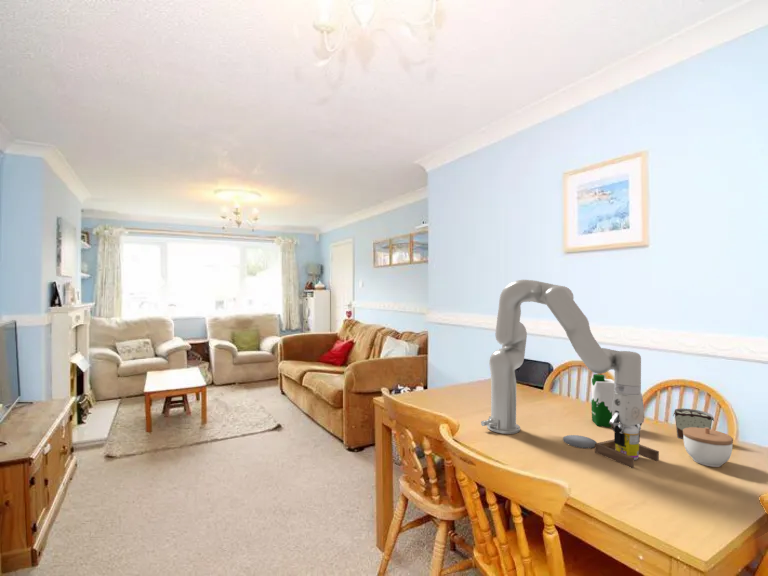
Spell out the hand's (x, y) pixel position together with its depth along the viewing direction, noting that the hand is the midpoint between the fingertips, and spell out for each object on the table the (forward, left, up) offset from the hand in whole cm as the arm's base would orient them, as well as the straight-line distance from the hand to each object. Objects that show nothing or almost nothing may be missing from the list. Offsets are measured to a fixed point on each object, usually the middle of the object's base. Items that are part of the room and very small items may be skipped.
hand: (627, 442), depth 133 cm
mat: (-4, +15, -5) cm, 16 cm away
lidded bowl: (+20, -13, -5) cm, 24 cm away
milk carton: (+22, +25, -5) cm, 34 cm away
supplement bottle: (0, 0, -5) cm, 5 cm away
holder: (0, 0, -5) cm, 5 cm away
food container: (+39, +2, -5) cm, 39 cm away
